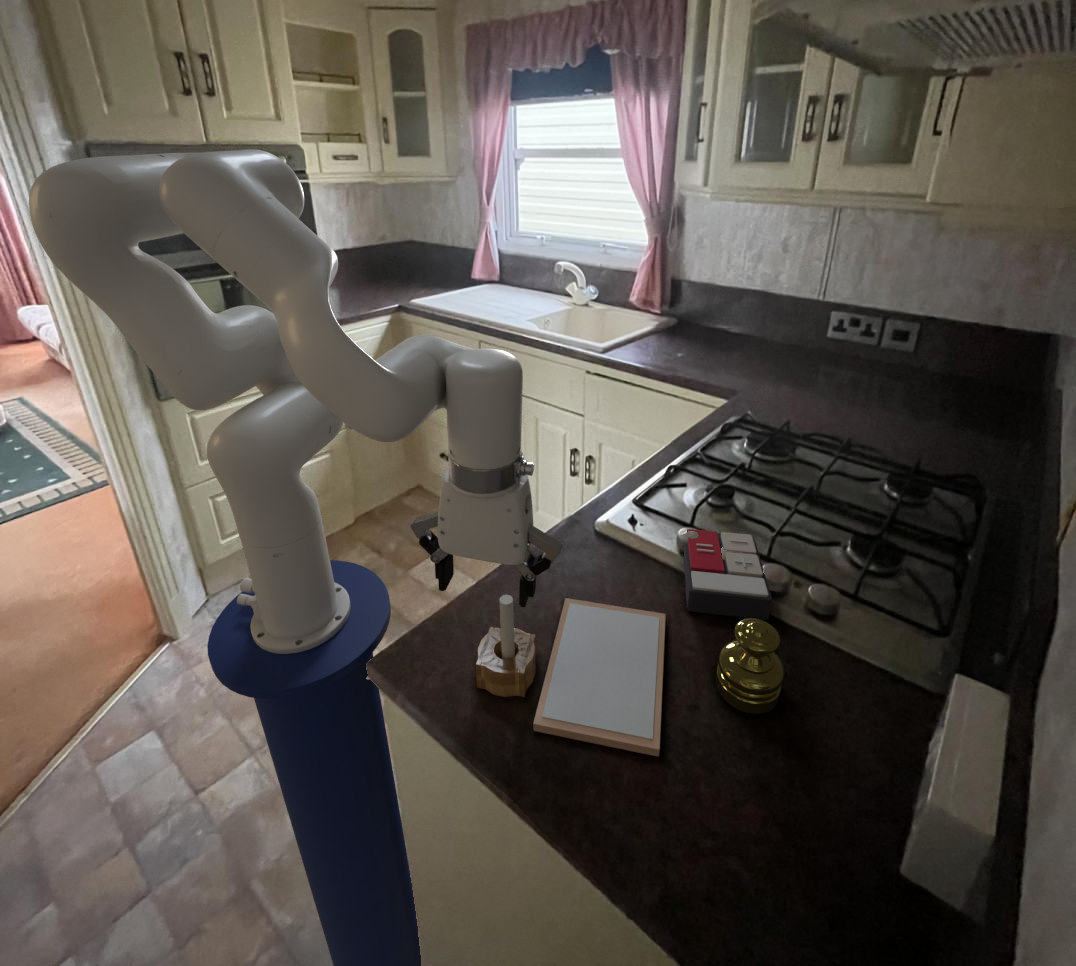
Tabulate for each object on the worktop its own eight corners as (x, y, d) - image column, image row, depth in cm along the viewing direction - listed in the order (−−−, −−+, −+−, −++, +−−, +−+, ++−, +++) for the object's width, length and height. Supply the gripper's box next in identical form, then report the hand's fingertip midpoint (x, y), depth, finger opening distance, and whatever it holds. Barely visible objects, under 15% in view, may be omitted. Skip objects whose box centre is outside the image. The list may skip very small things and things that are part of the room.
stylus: (501, 676, 74) (497, 603, 69) (504, 666, 75) (501, 593, 70) (513, 679, 74) (510, 605, 69) (516, 668, 75) (514, 595, 70)
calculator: (754, 531, 94) (773, 595, 80) (751, 554, 95) (769, 620, 82) (683, 525, 96) (690, 586, 82) (681, 547, 97) (687, 611, 83)
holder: (471, 690, 72) (469, 667, 71) (488, 645, 78) (487, 623, 77) (527, 701, 71) (527, 677, 69) (540, 655, 77) (540, 632, 75)
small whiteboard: (533, 730, 67) (533, 723, 67) (565, 604, 85) (565, 597, 85) (658, 757, 65) (659, 748, 64) (664, 620, 82) (665, 613, 82)
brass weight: (702, 673, 74) (712, 612, 70) (752, 656, 76) (764, 597, 72) (739, 724, 68) (751, 661, 64) (792, 705, 70) (808, 642, 66)
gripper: (572, 460, 64) (563, 582, 71) (421, 437, 67) (428, 557, 75) (558, 499, 57) (551, 629, 65) (392, 472, 61) (403, 599, 68)
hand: (485, 590), depth 70 cm, fingers open, 9 cm apart
